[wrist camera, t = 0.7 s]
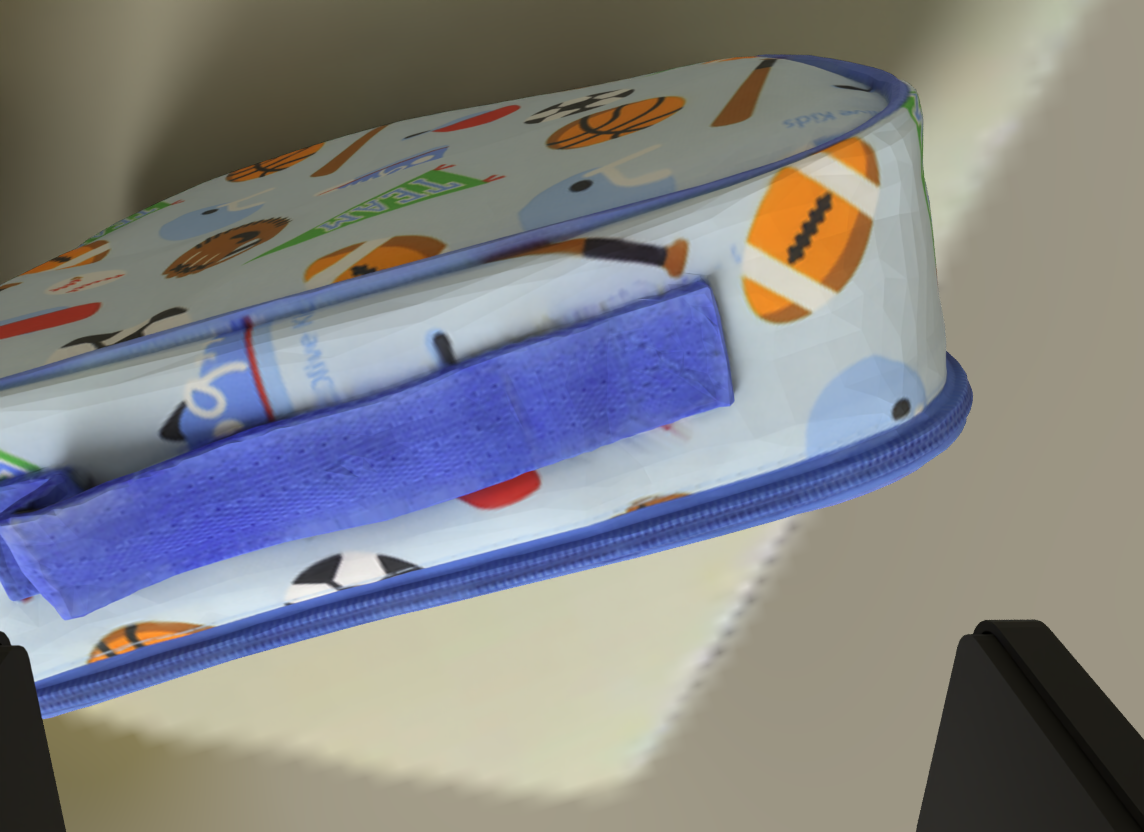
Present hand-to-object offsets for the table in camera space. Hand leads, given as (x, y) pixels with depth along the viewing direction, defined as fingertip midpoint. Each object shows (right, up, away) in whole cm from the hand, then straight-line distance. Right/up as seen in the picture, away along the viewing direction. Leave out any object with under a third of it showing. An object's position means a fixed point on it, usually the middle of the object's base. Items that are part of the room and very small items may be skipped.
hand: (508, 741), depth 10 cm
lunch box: (-5, +10, +29) cm, 31 cm away
